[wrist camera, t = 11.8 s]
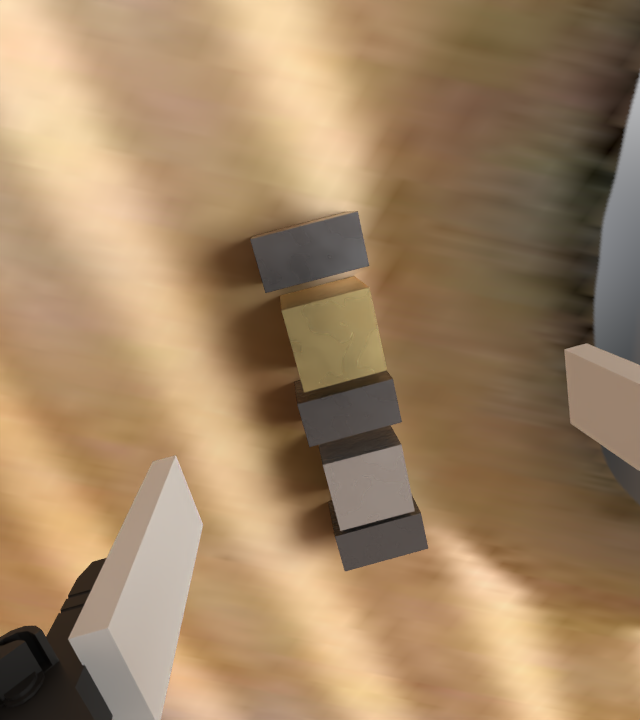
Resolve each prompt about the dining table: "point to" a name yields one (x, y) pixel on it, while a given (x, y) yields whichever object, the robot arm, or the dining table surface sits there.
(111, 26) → the dining table surface
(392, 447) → the light gray cube
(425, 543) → the dark grey cubes
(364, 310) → the yellow cube
